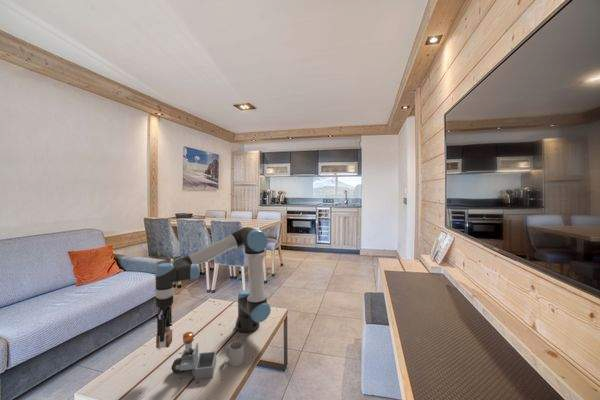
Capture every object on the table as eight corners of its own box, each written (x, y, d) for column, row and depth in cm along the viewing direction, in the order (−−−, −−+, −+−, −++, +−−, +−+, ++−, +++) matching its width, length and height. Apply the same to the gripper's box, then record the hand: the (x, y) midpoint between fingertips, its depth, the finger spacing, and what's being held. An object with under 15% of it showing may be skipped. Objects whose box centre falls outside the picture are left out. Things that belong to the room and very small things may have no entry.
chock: (172, 341, 128) (172, 329, 128) (168, 347, 123) (168, 334, 123) (160, 341, 127) (160, 329, 127) (156, 348, 122) (156, 335, 122)
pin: (194, 352, 129) (194, 331, 129) (192, 359, 125) (192, 336, 124) (184, 353, 129) (184, 332, 128) (182, 360, 124) (181, 337, 123)
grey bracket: (198, 363, 131) (198, 343, 130) (194, 376, 122) (194, 354, 121) (175, 365, 129) (174, 345, 128) (169, 379, 120) (169, 356, 119)
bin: (216, 360, 133) (216, 351, 132) (212, 377, 121) (212, 367, 121) (199, 362, 131) (199, 353, 131) (194, 379, 119) (194, 369, 119)
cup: (239, 368, 127) (239, 350, 127) (221, 364, 130) (221, 346, 130) (246, 358, 134) (246, 342, 134) (229, 355, 137) (229, 338, 137)
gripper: (163, 289, 132) (163, 334, 133) (148, 304, 115) (148, 356, 115) (178, 288, 134) (178, 333, 134) (166, 303, 116) (166, 354, 117)
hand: (164, 343), depth 125 cm, fingers closed on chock, 5 cm apart
